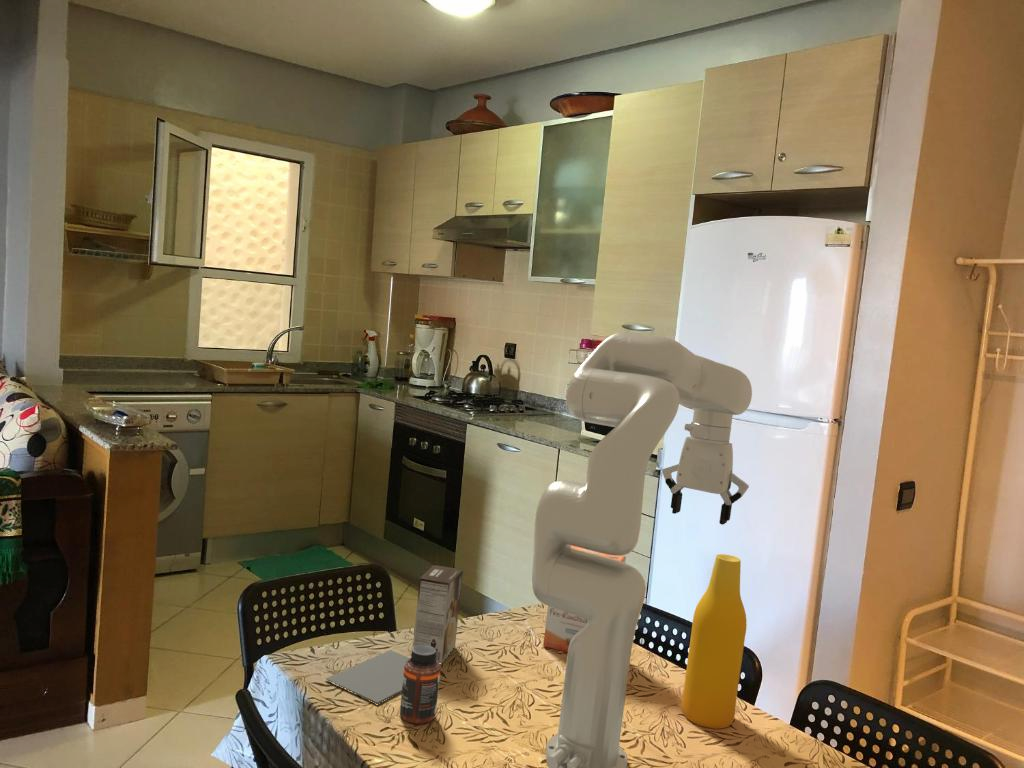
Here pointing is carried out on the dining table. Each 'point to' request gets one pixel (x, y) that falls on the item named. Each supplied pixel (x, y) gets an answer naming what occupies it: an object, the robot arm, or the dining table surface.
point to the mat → (374, 677)
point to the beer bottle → (716, 648)
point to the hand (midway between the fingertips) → (699, 517)
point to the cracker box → (566, 618)
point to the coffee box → (438, 610)
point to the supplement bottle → (420, 685)
